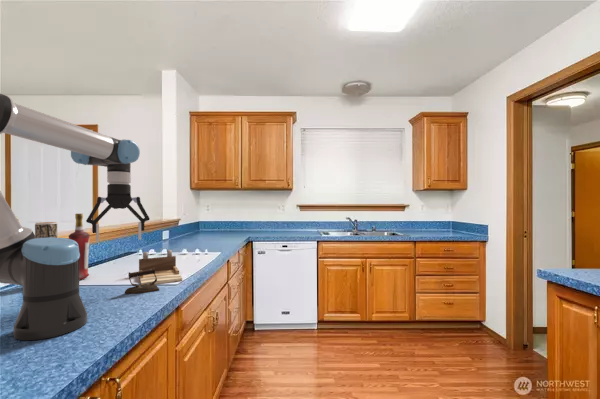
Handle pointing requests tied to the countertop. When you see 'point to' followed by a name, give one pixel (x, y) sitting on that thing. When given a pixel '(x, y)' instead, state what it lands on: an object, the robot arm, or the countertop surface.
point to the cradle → (159, 269)
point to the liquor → (81, 246)
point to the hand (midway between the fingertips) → (119, 240)
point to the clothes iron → (145, 287)
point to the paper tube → (46, 229)
